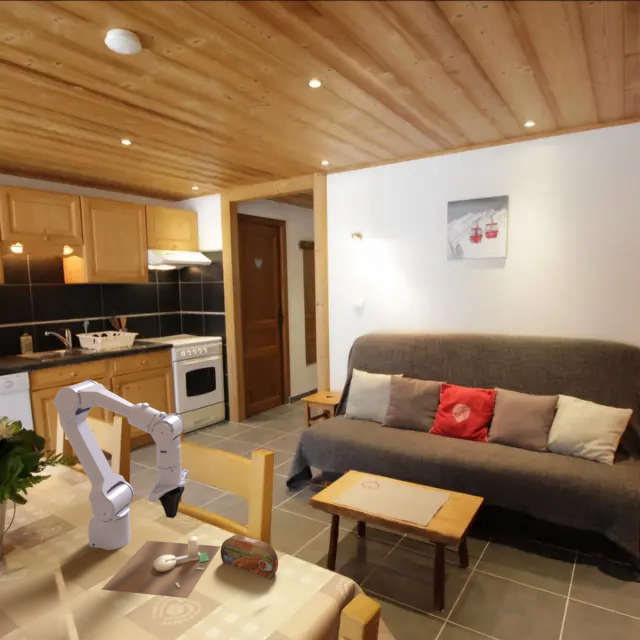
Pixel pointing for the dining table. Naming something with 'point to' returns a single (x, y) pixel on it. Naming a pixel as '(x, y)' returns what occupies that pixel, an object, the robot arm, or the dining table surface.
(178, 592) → the board
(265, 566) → the tin
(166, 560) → the peg
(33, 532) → the dining table surface
